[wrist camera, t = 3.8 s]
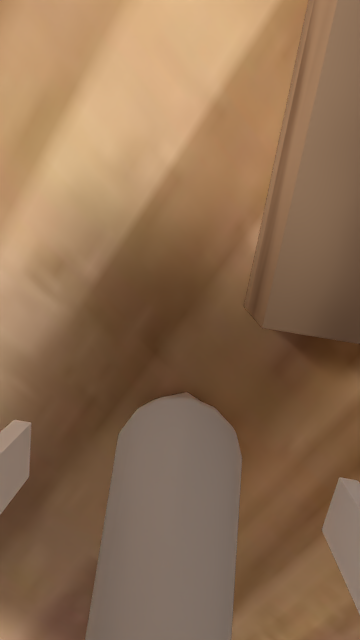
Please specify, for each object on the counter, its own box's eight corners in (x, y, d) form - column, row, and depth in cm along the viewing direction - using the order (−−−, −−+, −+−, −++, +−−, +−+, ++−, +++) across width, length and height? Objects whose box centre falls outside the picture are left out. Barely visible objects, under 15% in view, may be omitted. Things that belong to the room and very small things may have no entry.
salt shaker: (256, 434, 15) (528, 1246, 3) (176, 490, 17) (111, 1261, 4) (184, 355, 15) (114, 985, 2) (105, 419, 16) (-264, 1093, 3)
